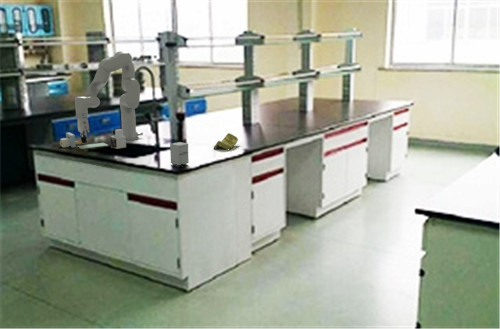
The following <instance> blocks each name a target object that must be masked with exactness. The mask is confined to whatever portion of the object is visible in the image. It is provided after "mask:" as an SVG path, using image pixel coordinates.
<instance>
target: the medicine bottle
mask: <svg viewBox="0 0 500 329" xmlns="http://www.w3.org/2000/svg"><path fill="white" fill-rule="evenodd" d="M122 135H123V132H122V128H114V129H112V135H111V136H110V137H109V138H110V148H113V149H115V150H117V149H124V148H127V142H126V141H127V140H126V137H125V136H122Z"/></svg>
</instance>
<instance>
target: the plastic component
mask: <svg viewBox="0 0 500 329" xmlns="http://www.w3.org/2000/svg"><path fill="white" fill-rule="evenodd" d="M238 141H239V138H238V137H237V136H236V135H234V134H233V133H230V132H229V133H227V134H226V135H225V136H224V138H223V139H222V140H218V141H217V142H216V143H215V145H214V146H213V149H214V148H216V147H217V148H218V146H219V147H220V148H223V149H225V150H226V149H230V148H231V149H232V148H234V147H235V146H236V144H237V143H238ZM234 145H235V146H234ZM233 146H234V147H233ZM217 148H216V149H217ZM231 149H230V150H231Z"/></svg>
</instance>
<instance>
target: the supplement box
mask: <svg viewBox="0 0 500 329" xmlns="http://www.w3.org/2000/svg"><path fill="white" fill-rule="evenodd" d="M169 145H170V146H169V147H170V148H169V149H170V164H171V163H172V164H177V165H181V164H186V163H189V143H186V142H181V141H178V142H173V143H170V144H169Z"/></svg>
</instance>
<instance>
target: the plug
mask: <svg viewBox="0 0 500 329" xmlns="http://www.w3.org/2000/svg"><path fill="white" fill-rule="evenodd" d="M75 142H76V146H80V145H83V143H82V141H81V140H75ZM59 145H60V147H62V148H70V147H69V146H71V144H70V138H66V137H63V138H60V141H59Z"/></svg>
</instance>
